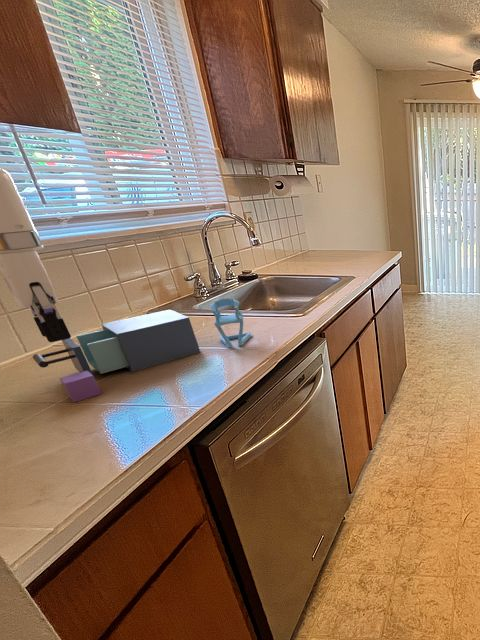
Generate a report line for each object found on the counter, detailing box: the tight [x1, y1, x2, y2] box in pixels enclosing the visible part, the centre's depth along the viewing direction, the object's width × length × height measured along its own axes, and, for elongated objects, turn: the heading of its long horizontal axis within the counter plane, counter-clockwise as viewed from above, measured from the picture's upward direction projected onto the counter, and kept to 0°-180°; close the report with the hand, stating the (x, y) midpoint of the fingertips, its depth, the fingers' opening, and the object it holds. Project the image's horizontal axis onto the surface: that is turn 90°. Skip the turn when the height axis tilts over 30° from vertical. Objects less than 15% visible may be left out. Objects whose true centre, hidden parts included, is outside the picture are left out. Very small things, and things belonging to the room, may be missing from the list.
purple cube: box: [59, 371, 102, 403], centre depth 84 cm, size 4×4×4 cm
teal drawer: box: [32, 329, 129, 379], centre depth 93 cm, size 19×11×8 cm, turn 144°
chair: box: [209, 298, 252, 349], centre depth 109 cm, size 8×8×12 cm
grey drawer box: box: [101, 308, 201, 372], centre depth 101 cm, size 15×13×10 cm
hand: (56, 336), depth 79 cm, fingers open, 4 cm apart
